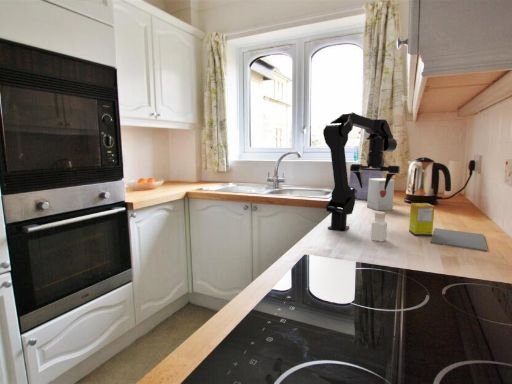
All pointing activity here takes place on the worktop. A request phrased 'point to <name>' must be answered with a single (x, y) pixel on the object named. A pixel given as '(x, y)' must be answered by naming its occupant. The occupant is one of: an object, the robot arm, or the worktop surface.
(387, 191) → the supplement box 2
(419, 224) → the supplement box
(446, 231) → the rubber mat
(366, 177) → the cake pan box
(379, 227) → the pepper shaker
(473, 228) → the worktop surface
